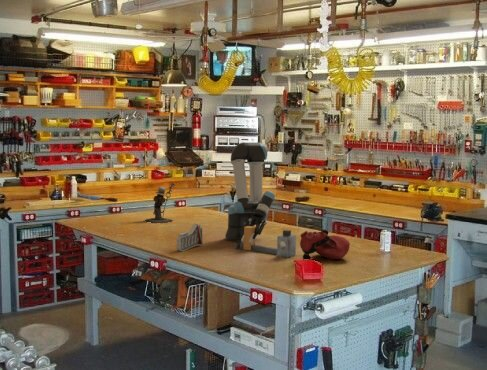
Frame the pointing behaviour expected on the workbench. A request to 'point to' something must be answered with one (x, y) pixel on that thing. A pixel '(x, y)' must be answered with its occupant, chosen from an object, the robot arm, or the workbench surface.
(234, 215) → the robot arm
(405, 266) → the workbench surface
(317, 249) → the red backpack
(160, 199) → the figurine
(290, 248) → the cabinet
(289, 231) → the button
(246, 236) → the carriage
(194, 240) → the decorative sign
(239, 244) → the guide rail
